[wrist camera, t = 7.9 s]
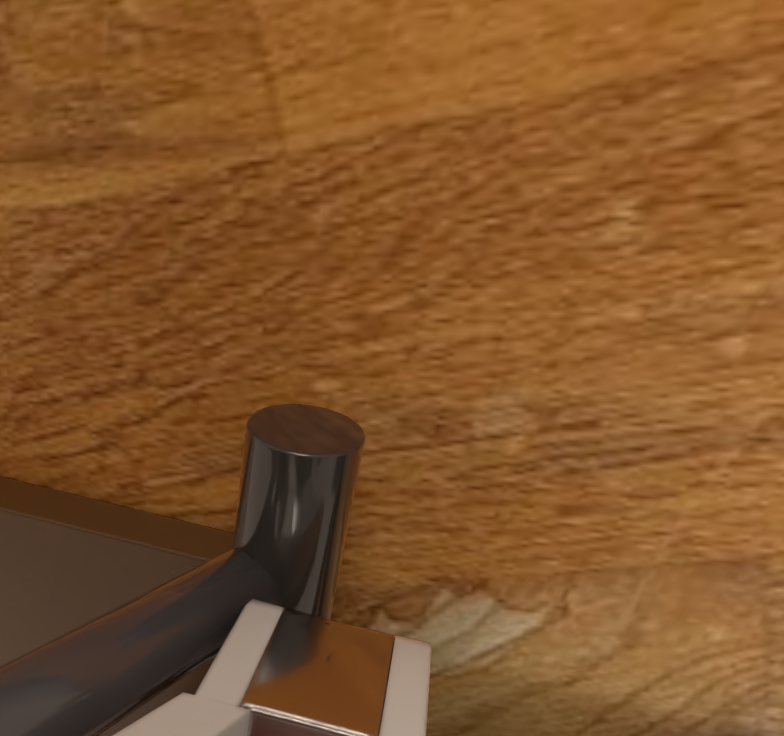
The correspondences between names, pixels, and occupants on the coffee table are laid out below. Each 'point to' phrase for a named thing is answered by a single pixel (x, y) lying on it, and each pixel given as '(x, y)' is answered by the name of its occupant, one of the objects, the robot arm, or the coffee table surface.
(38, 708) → the terracotta cup
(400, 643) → the robot arm
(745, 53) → the coffee table surface
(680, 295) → the coffee table surface
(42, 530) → the cup stand
